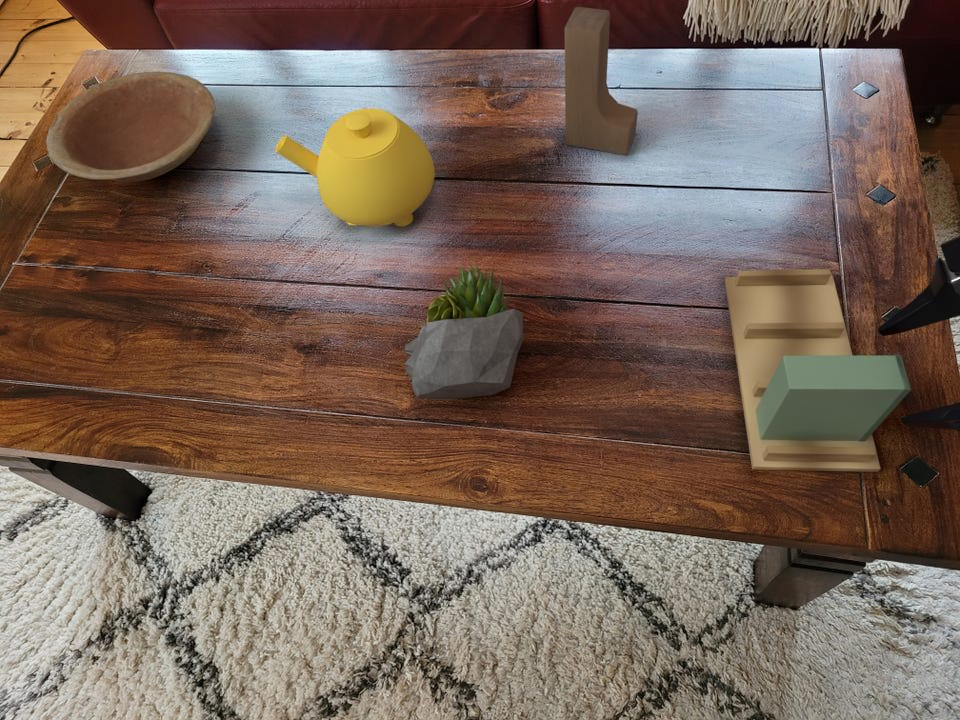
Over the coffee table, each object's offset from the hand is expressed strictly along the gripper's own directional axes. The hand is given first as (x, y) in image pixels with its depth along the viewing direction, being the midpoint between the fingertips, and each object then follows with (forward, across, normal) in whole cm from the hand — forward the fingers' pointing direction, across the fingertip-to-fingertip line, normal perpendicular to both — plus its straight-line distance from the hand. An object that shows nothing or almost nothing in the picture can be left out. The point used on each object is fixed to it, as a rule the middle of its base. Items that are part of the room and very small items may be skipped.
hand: (890, 375), depth 61 cm
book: (+10, 0, +4) cm, 11 cm away
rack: (+11, -7, +5) cm, 14 cm away
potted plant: (+36, -8, -20) cm, 42 cm away
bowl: (+73, -43, -56) cm, 102 cm away
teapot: (+48, -33, -32) cm, 67 cm away
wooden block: (+26, -44, -9) cm, 52 cm away
